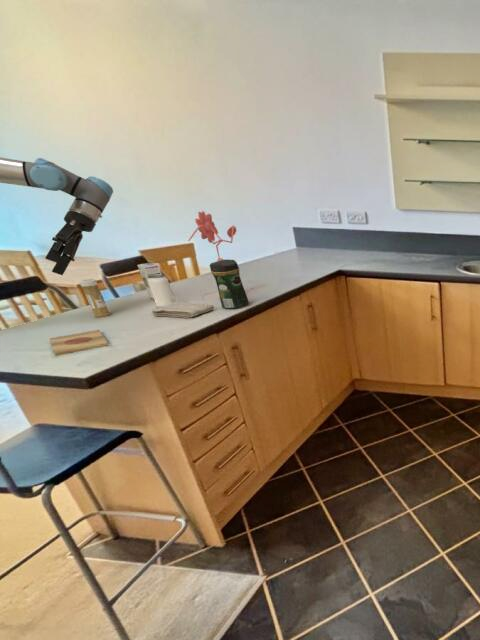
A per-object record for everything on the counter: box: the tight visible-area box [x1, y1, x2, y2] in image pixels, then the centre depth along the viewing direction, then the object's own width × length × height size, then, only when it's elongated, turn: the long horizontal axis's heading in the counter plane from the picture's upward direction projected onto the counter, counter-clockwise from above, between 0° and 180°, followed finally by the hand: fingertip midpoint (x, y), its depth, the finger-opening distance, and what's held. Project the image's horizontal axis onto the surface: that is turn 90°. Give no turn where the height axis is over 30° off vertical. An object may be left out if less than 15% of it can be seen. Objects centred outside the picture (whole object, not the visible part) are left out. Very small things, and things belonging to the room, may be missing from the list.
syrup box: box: [137, 262, 163, 300], centre depth 177 cm, size 6×6×14 cm
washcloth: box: [150, 301, 215, 319], centre depth 161 cm, size 12×18×3 cm, turn 84°
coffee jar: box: [209, 259, 250, 310], centre depth 167 cm, size 10×8×19 cm
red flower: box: [187, 210, 254, 301], centre depth 179 cm, size 15×26×35 cm, turn 2°
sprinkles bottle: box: [78, 278, 111, 318], centre depth 155 cm, size 5×5×13 cm
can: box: [147, 274, 177, 307], centre depth 168 cm, size 6×6×12 cm
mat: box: [49, 329, 109, 357], centre depth 132 cm, size 18×12×1 cm, turn 48°
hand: (54, 267), depth 143 cm, fingers open, 13 cm apart
